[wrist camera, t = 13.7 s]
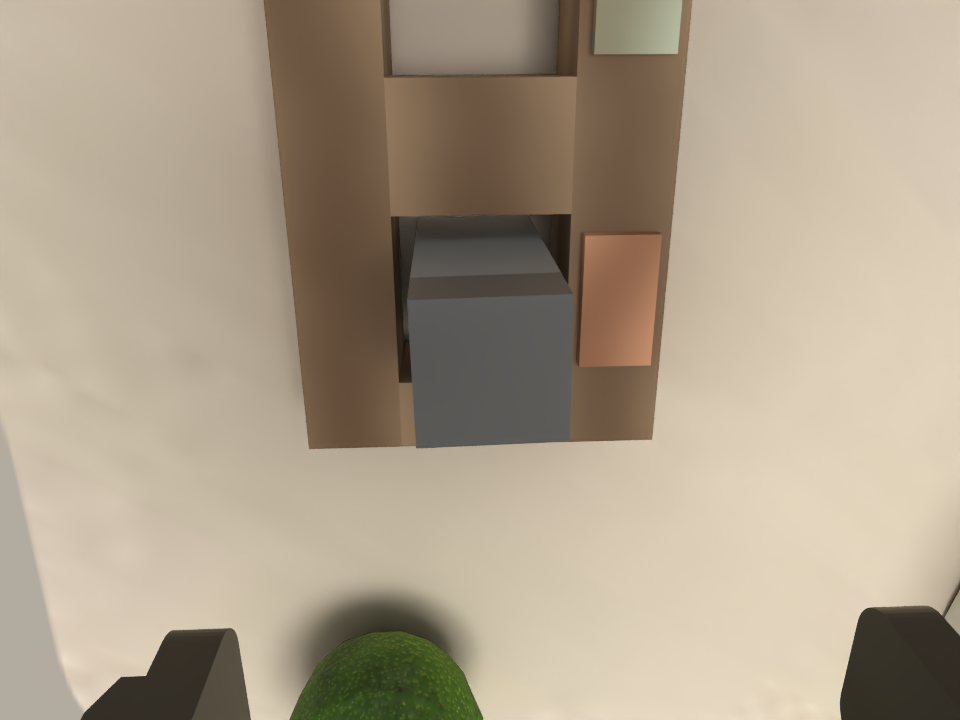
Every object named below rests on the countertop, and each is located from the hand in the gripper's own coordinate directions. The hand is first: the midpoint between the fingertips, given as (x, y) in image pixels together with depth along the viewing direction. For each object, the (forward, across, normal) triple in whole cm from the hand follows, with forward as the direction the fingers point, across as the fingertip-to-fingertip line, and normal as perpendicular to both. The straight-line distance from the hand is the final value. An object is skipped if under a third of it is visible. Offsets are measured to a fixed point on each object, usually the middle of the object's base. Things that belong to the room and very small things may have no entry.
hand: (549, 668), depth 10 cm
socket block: (+20, 0, -5) cm, 20 cm away
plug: (+20, 0, 0) cm, 20 cm away
